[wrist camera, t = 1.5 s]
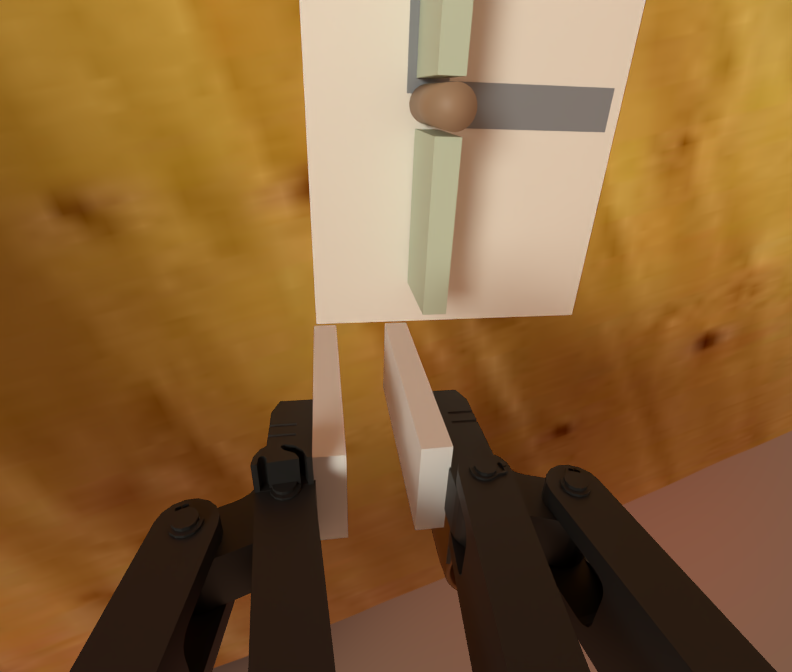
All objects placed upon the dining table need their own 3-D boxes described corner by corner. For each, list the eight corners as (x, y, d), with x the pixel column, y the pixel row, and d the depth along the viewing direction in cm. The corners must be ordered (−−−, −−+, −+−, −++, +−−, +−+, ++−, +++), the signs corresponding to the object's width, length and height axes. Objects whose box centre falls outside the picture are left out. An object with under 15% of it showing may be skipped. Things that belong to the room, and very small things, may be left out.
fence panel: (407, 282, 36) (422, 314, 31) (414, 128, 31) (434, 136, 26) (427, 281, 36) (445, 314, 31) (438, 129, 31) (462, 137, 26)
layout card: (316, 322, 37) (316, 324, 37) (285, -274, 22) (284, -279, 22) (570, 313, 40) (572, 315, 40) (692, -211, 25) (696, -215, 25)
